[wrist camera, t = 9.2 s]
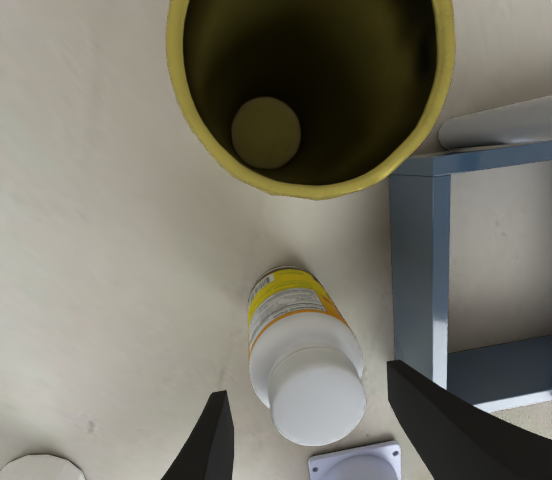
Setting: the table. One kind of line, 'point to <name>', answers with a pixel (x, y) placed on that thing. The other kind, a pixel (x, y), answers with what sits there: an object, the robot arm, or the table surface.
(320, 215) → the table surface
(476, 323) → the table surface
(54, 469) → the white cup
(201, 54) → the vase
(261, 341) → the supplement bottle
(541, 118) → the open box
